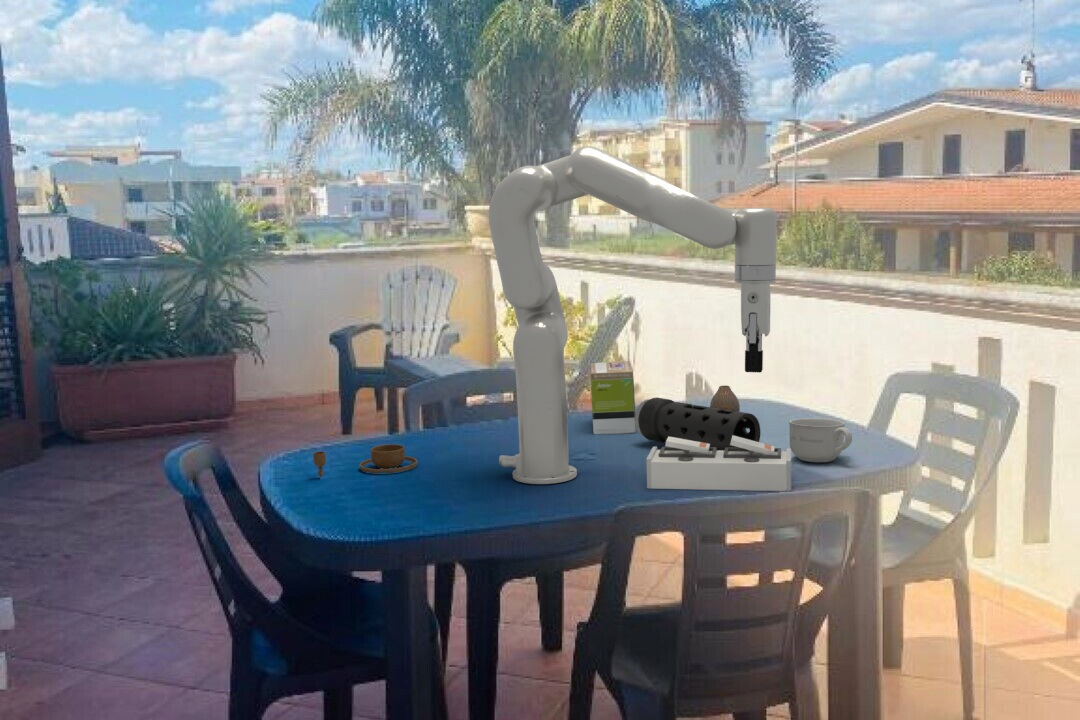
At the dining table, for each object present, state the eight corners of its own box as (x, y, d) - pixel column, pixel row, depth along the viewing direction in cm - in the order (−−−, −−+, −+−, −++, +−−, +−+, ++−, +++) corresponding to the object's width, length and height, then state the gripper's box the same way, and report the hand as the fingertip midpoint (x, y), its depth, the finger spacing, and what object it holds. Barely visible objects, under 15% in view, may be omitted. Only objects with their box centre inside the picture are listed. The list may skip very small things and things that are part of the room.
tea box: (591, 421, 262) (589, 361, 260) (633, 420, 262) (631, 360, 260) (592, 435, 247) (590, 371, 245) (636, 433, 247) (634, 370, 245)
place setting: (411, 480, 215) (410, 451, 214) (312, 484, 216) (310, 455, 215) (422, 460, 233) (421, 433, 232) (330, 463, 233) (328, 436, 232)
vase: (740, 420, 257) (740, 383, 256) (739, 426, 250) (738, 388, 249) (711, 419, 259) (710, 383, 257) (709, 425, 252) (708, 388, 251)
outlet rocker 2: (729, 448, 200) (731, 439, 200) (730, 443, 204) (732, 434, 204) (771, 459, 199) (774, 450, 199) (772, 454, 203) (774, 445, 202)
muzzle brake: (731, 467, 214) (730, 415, 212) (632, 446, 235) (630, 399, 234) (762, 458, 220) (761, 408, 218) (662, 438, 241) (661, 393, 240)
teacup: (778, 457, 219) (778, 418, 218) (823, 451, 223) (822, 413, 222) (820, 472, 206) (820, 431, 205) (866, 465, 210) (866, 424, 209)
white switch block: (647, 488, 200) (646, 459, 199) (653, 474, 209) (652, 446, 209) (791, 491, 194) (790, 460, 193) (791, 477, 204) (790, 448, 203)
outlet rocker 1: (664, 449, 203) (666, 440, 203) (667, 444, 207) (668, 435, 207) (707, 457, 202) (708, 448, 201) (708, 452, 205) (710, 443, 205)
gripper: (774, 277, 193) (772, 378, 196) (777, 271, 207) (775, 366, 210) (731, 277, 195) (730, 377, 197) (737, 271, 209) (736, 365, 212)
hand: (753, 371), depth 204 cm, fingers closed
